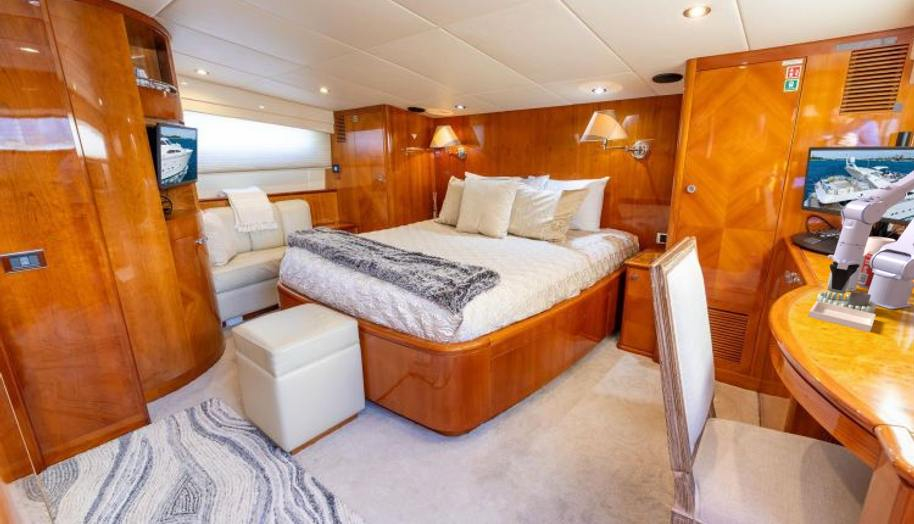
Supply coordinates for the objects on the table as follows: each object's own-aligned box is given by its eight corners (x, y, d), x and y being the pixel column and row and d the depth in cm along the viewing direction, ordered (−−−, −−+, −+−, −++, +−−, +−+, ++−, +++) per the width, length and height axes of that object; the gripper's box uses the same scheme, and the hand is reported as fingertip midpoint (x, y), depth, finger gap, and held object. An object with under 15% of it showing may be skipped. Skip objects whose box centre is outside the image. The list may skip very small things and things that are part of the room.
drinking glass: (887, 282, 137) (902, 241, 132) (868, 281, 137) (882, 240, 132) (868, 275, 143) (881, 236, 139) (850, 275, 143) (862, 236, 139)
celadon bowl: (819, 296, 122) (821, 288, 122) (875, 308, 113) (878, 300, 113) (812, 306, 115) (814, 297, 114) (872, 319, 106) (875, 311, 105)
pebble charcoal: (852, 304, 115) (856, 290, 113) (869, 309, 111) (874, 295, 110) (843, 306, 113) (847, 291, 112) (860, 311, 110) (865, 296, 108)
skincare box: (855, 290, 128) (867, 255, 125) (846, 291, 127) (858, 256, 123) (834, 284, 134) (844, 250, 130) (825, 285, 132) (835, 251, 129)
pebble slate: (833, 288, 117) (837, 274, 116) (849, 292, 113) (853, 278, 112) (823, 289, 116) (828, 275, 115) (839, 294, 112) (844, 279, 111)
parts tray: (814, 307, 113) (816, 300, 113) (873, 321, 105) (875, 314, 104) (807, 318, 106) (809, 311, 106) (869, 334, 98) (872, 326, 97)
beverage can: (886, 291, 128) (898, 256, 124) (863, 289, 129) (875, 255, 125) (870, 284, 134) (882, 251, 130) (849, 283, 135) (860, 250, 131)
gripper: (836, 237, 118) (823, 279, 122) (829, 244, 109) (815, 289, 113) (869, 241, 113) (854, 285, 117) (864, 249, 104) (848, 296, 108)
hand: (837, 287), depth 114 cm, fingers closed on pebble slate, 4 cm apart
